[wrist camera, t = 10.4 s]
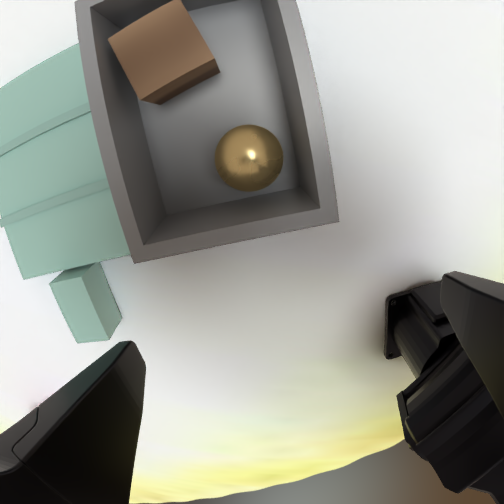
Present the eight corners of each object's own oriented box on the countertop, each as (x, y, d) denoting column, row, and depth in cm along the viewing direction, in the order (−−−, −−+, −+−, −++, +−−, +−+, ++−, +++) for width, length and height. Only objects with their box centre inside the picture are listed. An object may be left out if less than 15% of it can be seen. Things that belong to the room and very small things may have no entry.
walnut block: (220, 72, 16) (214, 58, 13) (160, 105, 17) (139, 100, 13) (190, 21, 15) (178, -3, 11) (132, 53, 15) (107, 38, 12)
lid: (165, 311, 23) (156, 334, 20) (58, 326, 23) (43, 346, 21) (96, 44, 16) (76, 34, 13) (-9, 103, 16) (-33, 104, 14)
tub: (312, 194, 20) (339, 221, 14) (161, 226, 20) (134, 263, 15) (268, -10, 15) (278, -55, 9) (116, 28, 15) (74, 1, 10)
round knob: (279, 172, 19) (289, 184, 15) (226, 183, 19) (222, 198, 15) (269, 120, 17) (276, 118, 14) (215, 131, 18) (207, 132, 14)
